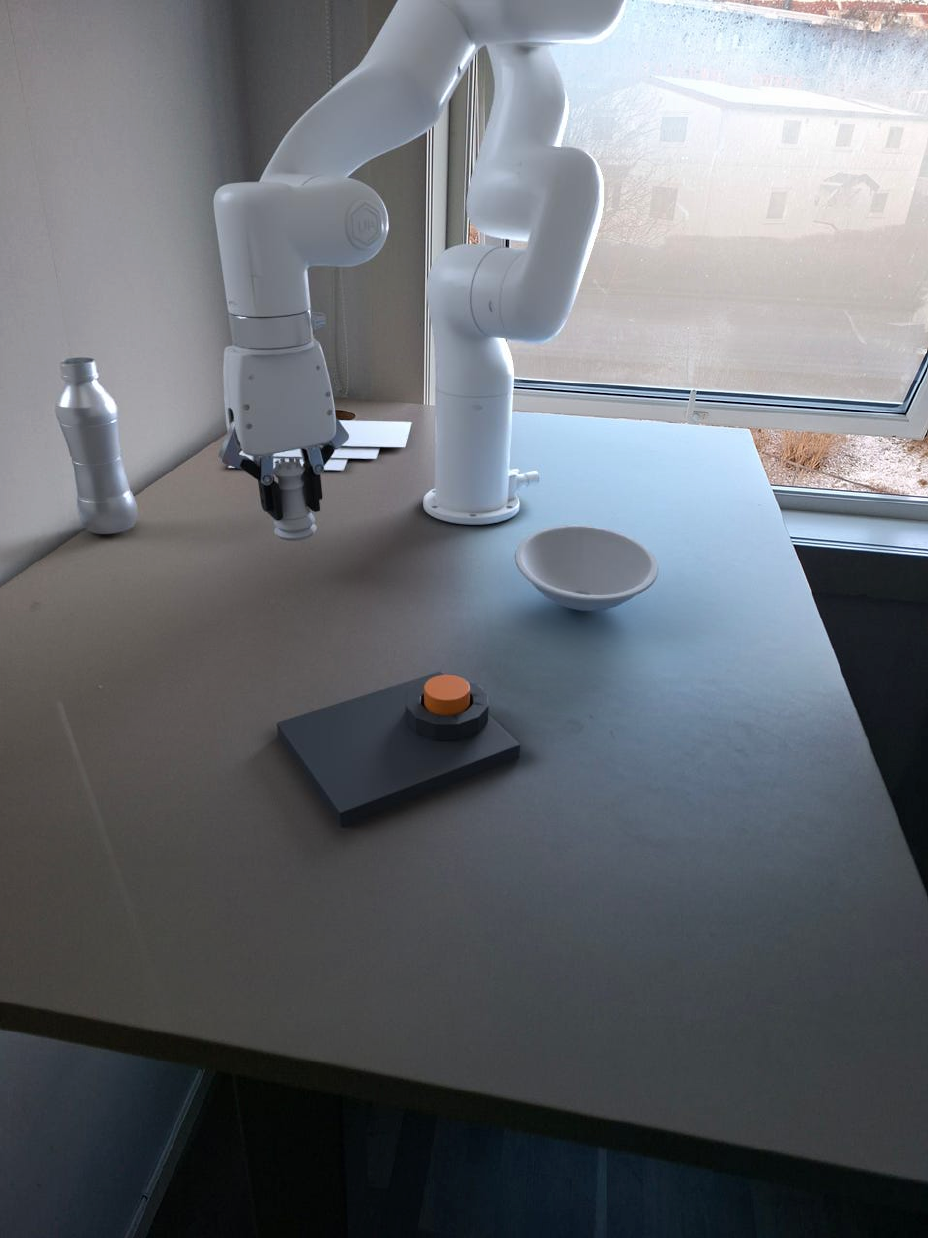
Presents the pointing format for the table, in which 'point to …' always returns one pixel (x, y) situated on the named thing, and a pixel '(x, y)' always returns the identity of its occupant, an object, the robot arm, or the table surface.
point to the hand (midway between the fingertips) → (293, 510)
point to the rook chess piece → (292, 502)
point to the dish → (586, 566)
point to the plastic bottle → (94, 449)
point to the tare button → (446, 695)
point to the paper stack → (358, 442)
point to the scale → (392, 748)
